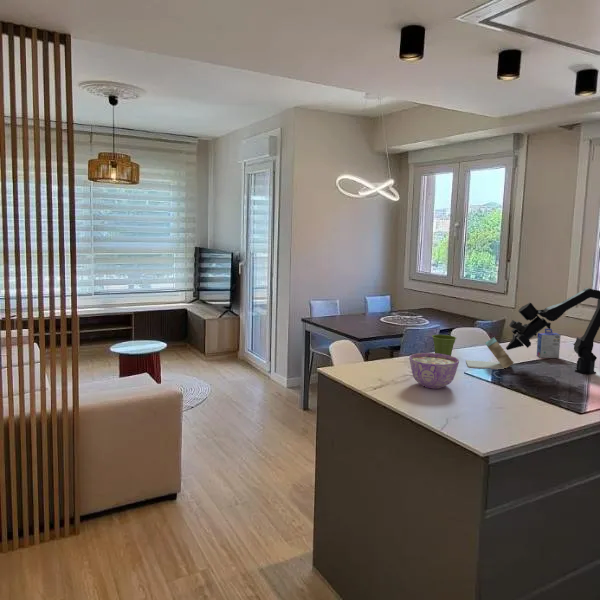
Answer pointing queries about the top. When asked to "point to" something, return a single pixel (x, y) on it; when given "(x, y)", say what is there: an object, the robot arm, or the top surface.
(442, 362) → the bowl of food
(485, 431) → the top surface
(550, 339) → the ink cartridge box
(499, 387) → the top surface
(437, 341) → the plant pot
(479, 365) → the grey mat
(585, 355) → the robot arm
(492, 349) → the oak block
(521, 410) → the top surface
